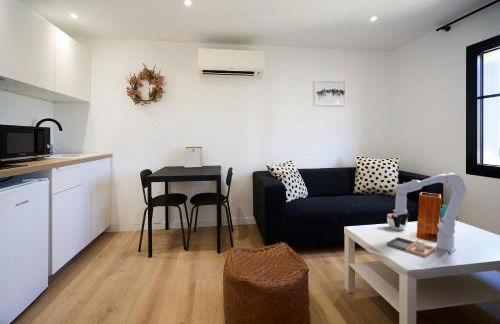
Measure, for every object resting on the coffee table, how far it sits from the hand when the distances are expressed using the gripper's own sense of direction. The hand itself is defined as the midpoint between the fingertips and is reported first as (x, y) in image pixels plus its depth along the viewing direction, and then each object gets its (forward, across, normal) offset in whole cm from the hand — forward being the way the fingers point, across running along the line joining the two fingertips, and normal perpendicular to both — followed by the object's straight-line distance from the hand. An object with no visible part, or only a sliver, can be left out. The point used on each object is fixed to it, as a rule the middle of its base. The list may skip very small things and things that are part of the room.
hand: (399, 226), depth 152 cm
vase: (+11, -38, +10) cm, 41 cm away
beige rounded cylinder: (+9, +5, +13) cm, 17 cm away
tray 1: (+10, +5, +3) cm, 12 cm away
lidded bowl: (+11, -25, -12) cm, 30 cm away
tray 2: (+10, +5, +13) cm, 17 cm away
